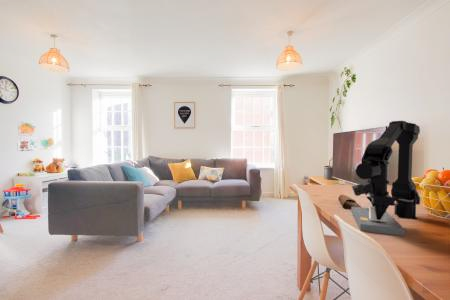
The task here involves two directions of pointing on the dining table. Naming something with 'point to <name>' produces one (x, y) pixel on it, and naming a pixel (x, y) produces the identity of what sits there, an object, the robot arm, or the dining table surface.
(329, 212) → the dining table surface
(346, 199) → the sunglasses case
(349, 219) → the dining table surface
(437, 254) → the dining table surface
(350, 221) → the dining table surface
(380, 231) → the fader console
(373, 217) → the fader knob
